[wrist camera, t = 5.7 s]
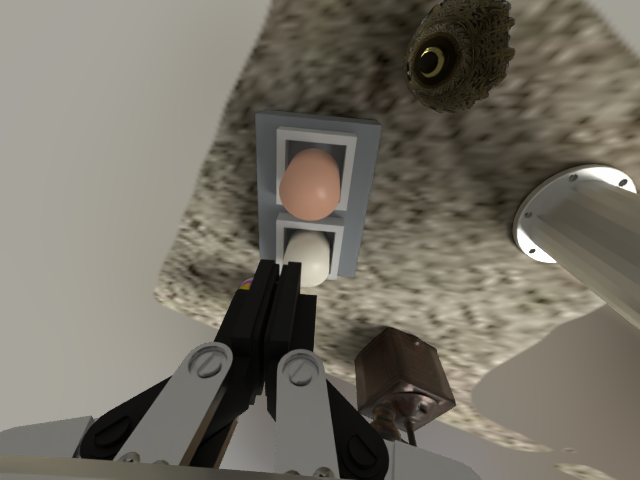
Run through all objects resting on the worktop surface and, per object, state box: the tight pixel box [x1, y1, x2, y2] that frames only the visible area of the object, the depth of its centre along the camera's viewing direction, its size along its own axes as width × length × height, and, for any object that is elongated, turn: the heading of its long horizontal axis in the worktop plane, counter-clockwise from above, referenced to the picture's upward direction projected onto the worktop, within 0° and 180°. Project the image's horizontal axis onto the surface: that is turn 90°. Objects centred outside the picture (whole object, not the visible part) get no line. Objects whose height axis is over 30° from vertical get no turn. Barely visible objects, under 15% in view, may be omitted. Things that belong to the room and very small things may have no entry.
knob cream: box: [282, 229, 330, 287], centre depth 30 cm, size 5×5×5 cm
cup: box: [403, 0, 515, 113], centre depth 23 cm, size 8×7×8 cm
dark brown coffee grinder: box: [355, 328, 456, 447], centre depth 39 cm, size 16×11×18 cm
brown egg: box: [279, 148, 340, 221], centre depth 24 cm, size 5×5×5 cm
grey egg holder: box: [255, 110, 382, 280], centre depth 31 cm, size 12×18×6 cm, turn 175°
